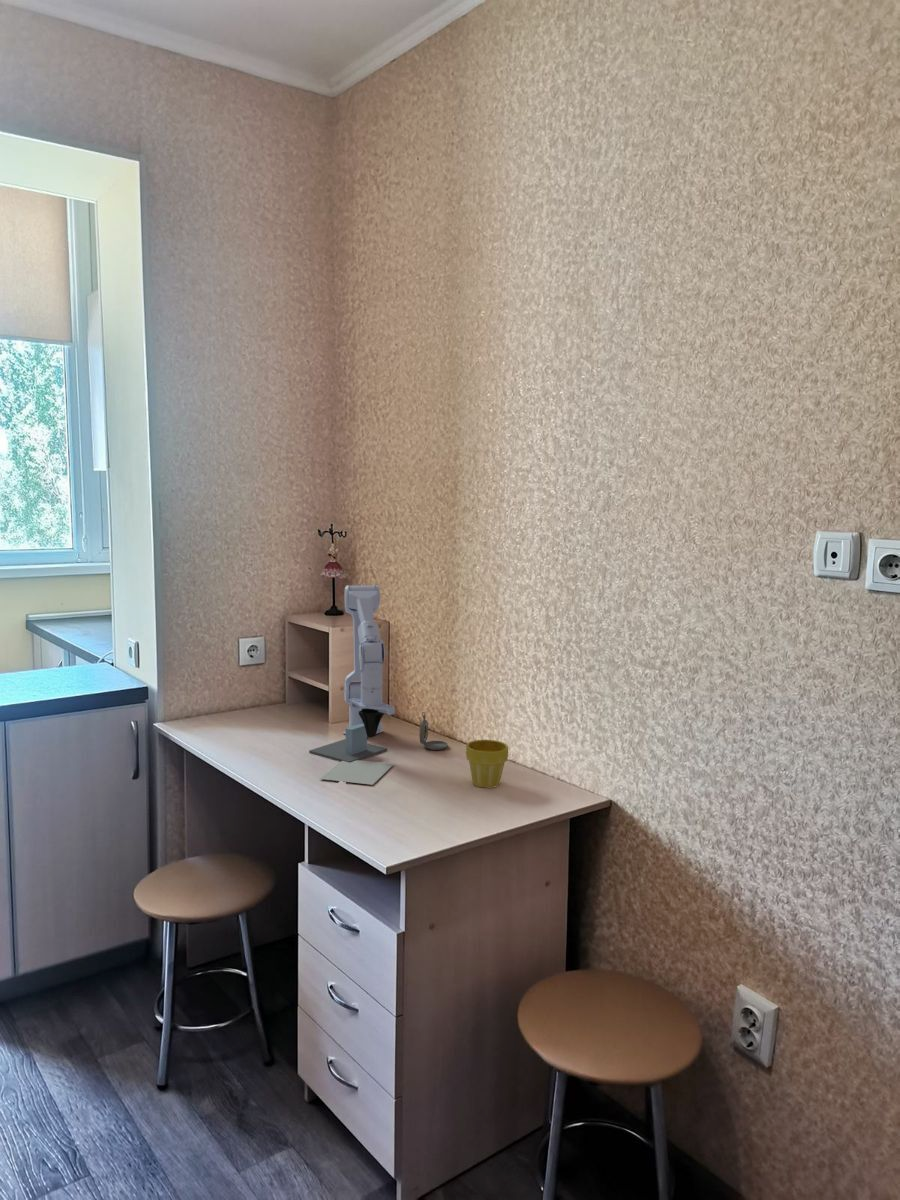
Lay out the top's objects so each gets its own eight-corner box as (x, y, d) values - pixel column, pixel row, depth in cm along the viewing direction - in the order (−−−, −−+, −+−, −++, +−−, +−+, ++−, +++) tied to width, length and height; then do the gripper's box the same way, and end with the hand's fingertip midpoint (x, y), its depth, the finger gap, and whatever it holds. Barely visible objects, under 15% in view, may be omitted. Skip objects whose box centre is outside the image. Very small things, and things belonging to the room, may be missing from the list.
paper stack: (428, 769, 224) (429, 767, 224) (399, 803, 200) (399, 800, 200) (344, 761, 230) (344, 758, 230) (305, 792, 206) (305, 789, 206)
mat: (347, 740, 248) (347, 738, 248) (387, 750, 239) (387, 748, 239) (309, 752, 236) (309, 750, 236) (349, 763, 227) (349, 761, 227)
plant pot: (514, 781, 215) (515, 743, 214) (495, 793, 206) (496, 754, 205) (478, 774, 220) (478, 736, 219) (457, 785, 212) (458, 747, 210)
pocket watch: (451, 749, 240) (451, 714, 239) (422, 752, 237) (423, 717, 236) (440, 741, 248) (441, 707, 247) (413, 744, 245) (413, 710, 243)
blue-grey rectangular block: (360, 748, 238) (361, 723, 237) (366, 749, 237) (366, 725, 236) (345, 753, 234) (345, 728, 233) (351, 755, 232) (351, 729, 231)
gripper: (341, 685, 231) (341, 734, 233) (382, 693, 222) (381, 745, 224) (359, 680, 236) (359, 729, 238) (399, 688, 228) (399, 738, 230)
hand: (371, 736), depth 231 cm, fingers closed
